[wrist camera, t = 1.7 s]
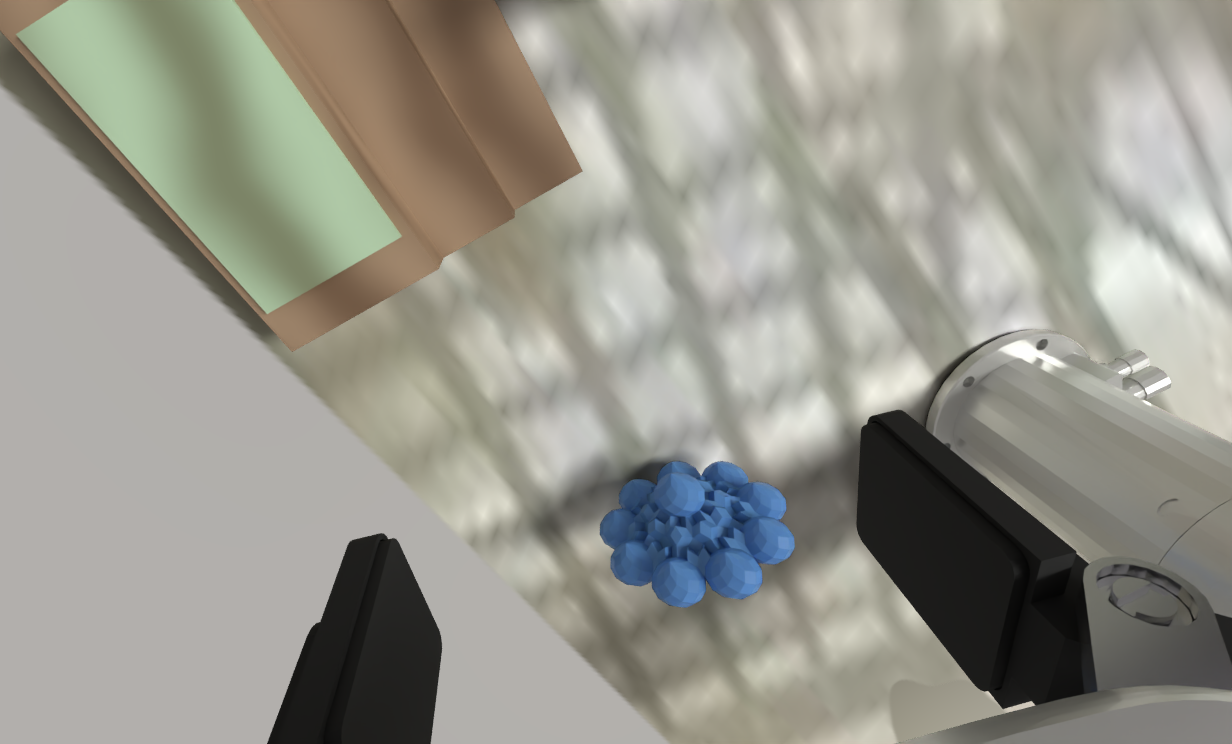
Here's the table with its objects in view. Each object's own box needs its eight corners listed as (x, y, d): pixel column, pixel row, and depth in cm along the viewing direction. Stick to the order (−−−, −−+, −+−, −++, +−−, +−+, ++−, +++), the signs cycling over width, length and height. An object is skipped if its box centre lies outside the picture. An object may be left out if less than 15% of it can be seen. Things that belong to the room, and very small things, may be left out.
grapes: (730, 389, 38) (812, 503, 28) (753, 464, 41) (835, 592, 31) (571, 453, 39) (592, 589, 28) (605, 522, 42) (635, 669, 31)
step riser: (391, -197, 23) (352, -289, 18) (578, 166, 31) (592, 182, 25) (77, 6, 24) (-52, -21, 19) (329, 308, 32) (289, 354, 26)
